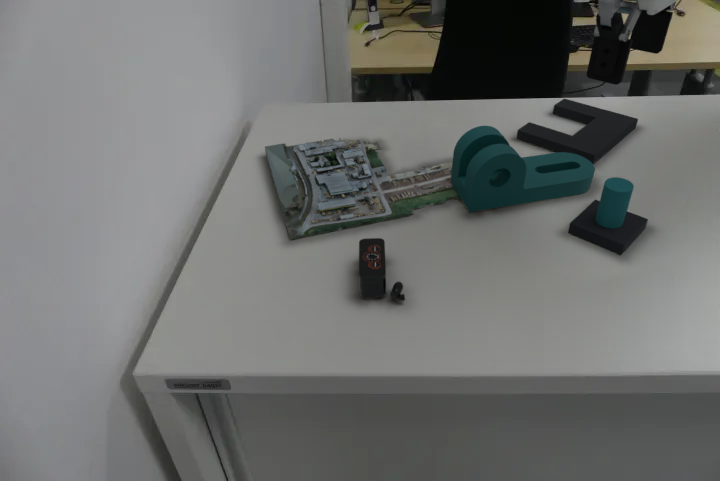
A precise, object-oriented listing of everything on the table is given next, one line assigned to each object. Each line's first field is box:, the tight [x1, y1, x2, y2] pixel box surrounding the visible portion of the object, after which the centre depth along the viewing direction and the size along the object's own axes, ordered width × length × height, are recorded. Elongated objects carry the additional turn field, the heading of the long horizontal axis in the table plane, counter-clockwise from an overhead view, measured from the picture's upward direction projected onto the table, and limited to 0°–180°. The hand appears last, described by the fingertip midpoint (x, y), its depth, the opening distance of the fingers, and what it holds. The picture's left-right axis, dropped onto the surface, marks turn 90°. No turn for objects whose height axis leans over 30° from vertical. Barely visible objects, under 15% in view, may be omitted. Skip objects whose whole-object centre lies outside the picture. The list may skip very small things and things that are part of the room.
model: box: [264, 137, 461, 241], centre depth 78 cm, size 21×30×2 cm
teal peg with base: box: [567, 176, 649, 256], centre depth 64 cm, size 6×6×6 cm
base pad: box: [516, 98, 639, 165], centre depth 84 cm, size 14×12×2 cm
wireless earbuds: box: [358, 237, 406, 302], centre depth 60 cm, size 5×7×3 cm, turn 0°
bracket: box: [450, 125, 596, 213], centre depth 71 cm, size 18×7×8 cm, turn 103°
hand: (624, 64), depth 55 cm, fingers open, 9 cm apart
